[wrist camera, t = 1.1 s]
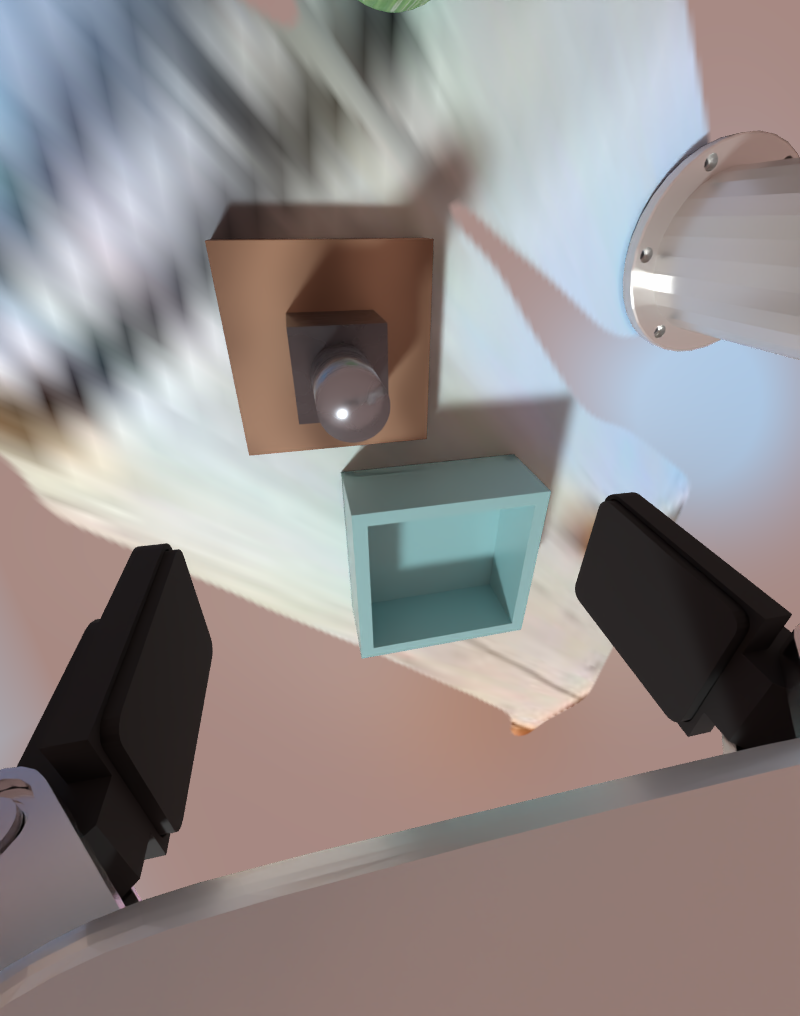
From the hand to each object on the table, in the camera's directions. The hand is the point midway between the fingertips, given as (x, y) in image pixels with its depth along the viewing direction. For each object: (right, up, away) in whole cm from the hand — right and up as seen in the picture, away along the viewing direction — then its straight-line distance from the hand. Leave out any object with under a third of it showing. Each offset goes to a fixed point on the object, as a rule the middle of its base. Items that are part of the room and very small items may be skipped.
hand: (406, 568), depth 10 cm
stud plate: (-5, +12, +18) cm, 22 cm away
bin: (+2, -1, +28) cm, 28 cm away
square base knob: (-4, +11, +17) cm, 20 cm away
